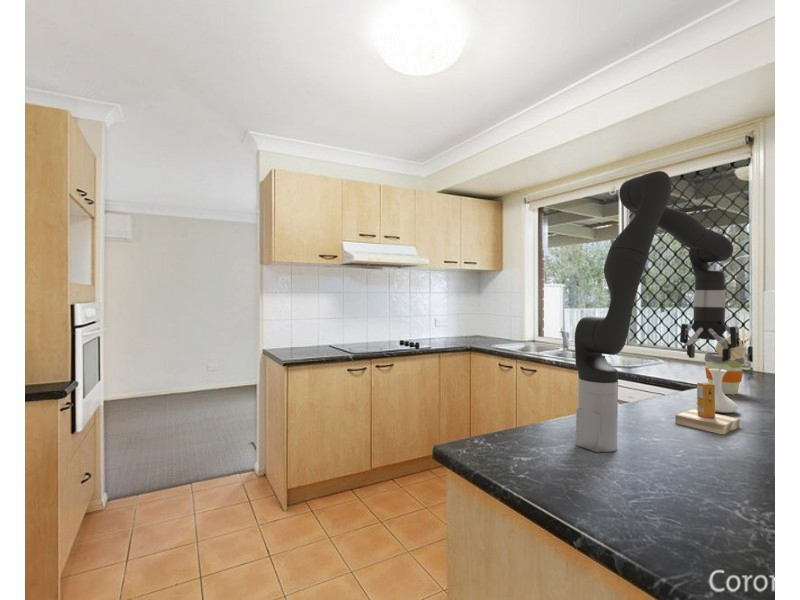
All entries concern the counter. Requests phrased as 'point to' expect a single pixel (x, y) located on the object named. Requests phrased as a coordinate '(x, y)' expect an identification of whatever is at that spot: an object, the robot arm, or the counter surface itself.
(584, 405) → the robot arm
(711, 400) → the supplement box
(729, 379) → the reusable coffee cup
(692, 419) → the birch base
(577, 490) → the counter surface
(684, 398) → the counter surface
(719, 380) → the flower in vase
